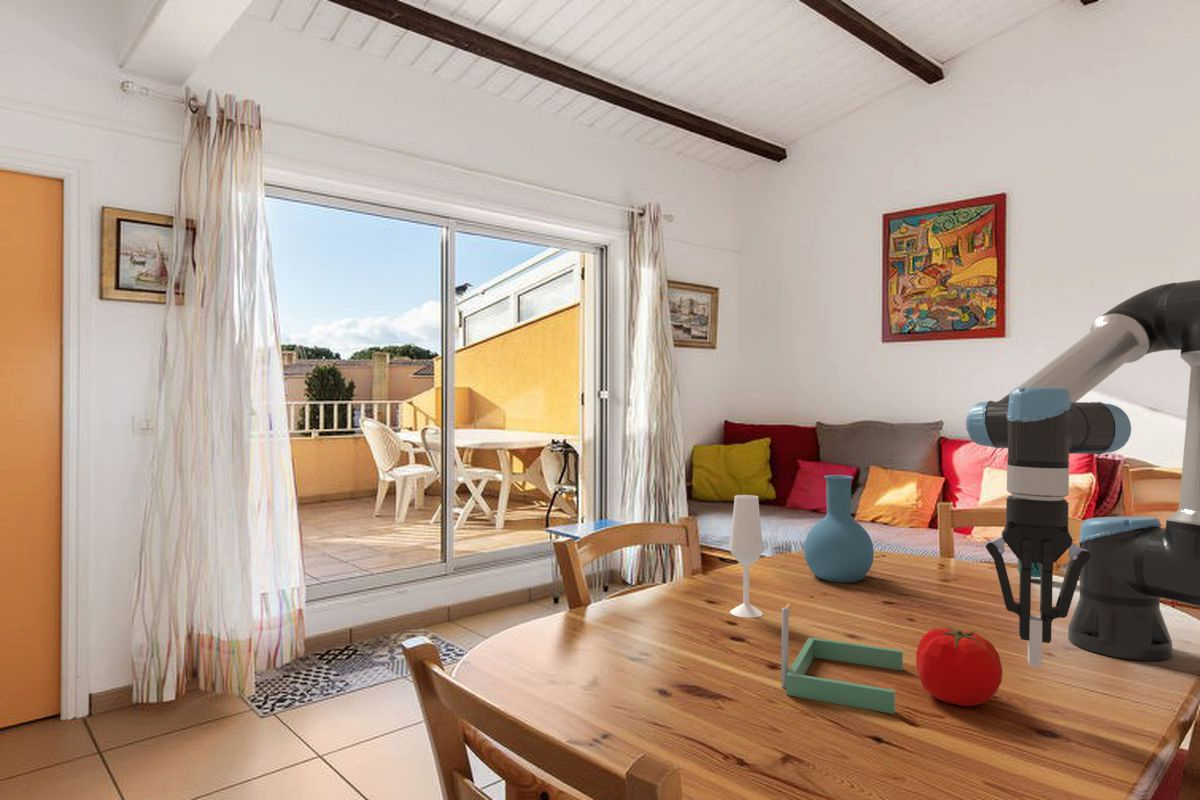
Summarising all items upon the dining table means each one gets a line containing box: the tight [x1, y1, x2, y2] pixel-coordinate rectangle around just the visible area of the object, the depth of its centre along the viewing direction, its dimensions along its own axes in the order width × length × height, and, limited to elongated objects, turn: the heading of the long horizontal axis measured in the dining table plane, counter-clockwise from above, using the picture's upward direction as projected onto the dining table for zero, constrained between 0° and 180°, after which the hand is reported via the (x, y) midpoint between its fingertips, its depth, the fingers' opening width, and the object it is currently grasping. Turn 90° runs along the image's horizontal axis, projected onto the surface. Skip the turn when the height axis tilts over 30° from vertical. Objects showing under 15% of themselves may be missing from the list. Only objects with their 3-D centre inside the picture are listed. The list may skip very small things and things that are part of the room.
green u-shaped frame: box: [781, 602, 904, 715], centre depth 114 cm, size 16×19×12 cm
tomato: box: [915, 625, 1003, 708], centre depth 107 cm, size 12×12×10 cm
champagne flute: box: [729, 494, 764, 619], centre depth 150 cm, size 7×7×24 cm
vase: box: [803, 474, 875, 584], centre depth 180 cm, size 16×16×25 cm
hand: (1034, 663), depth 103 cm, fingers closed
